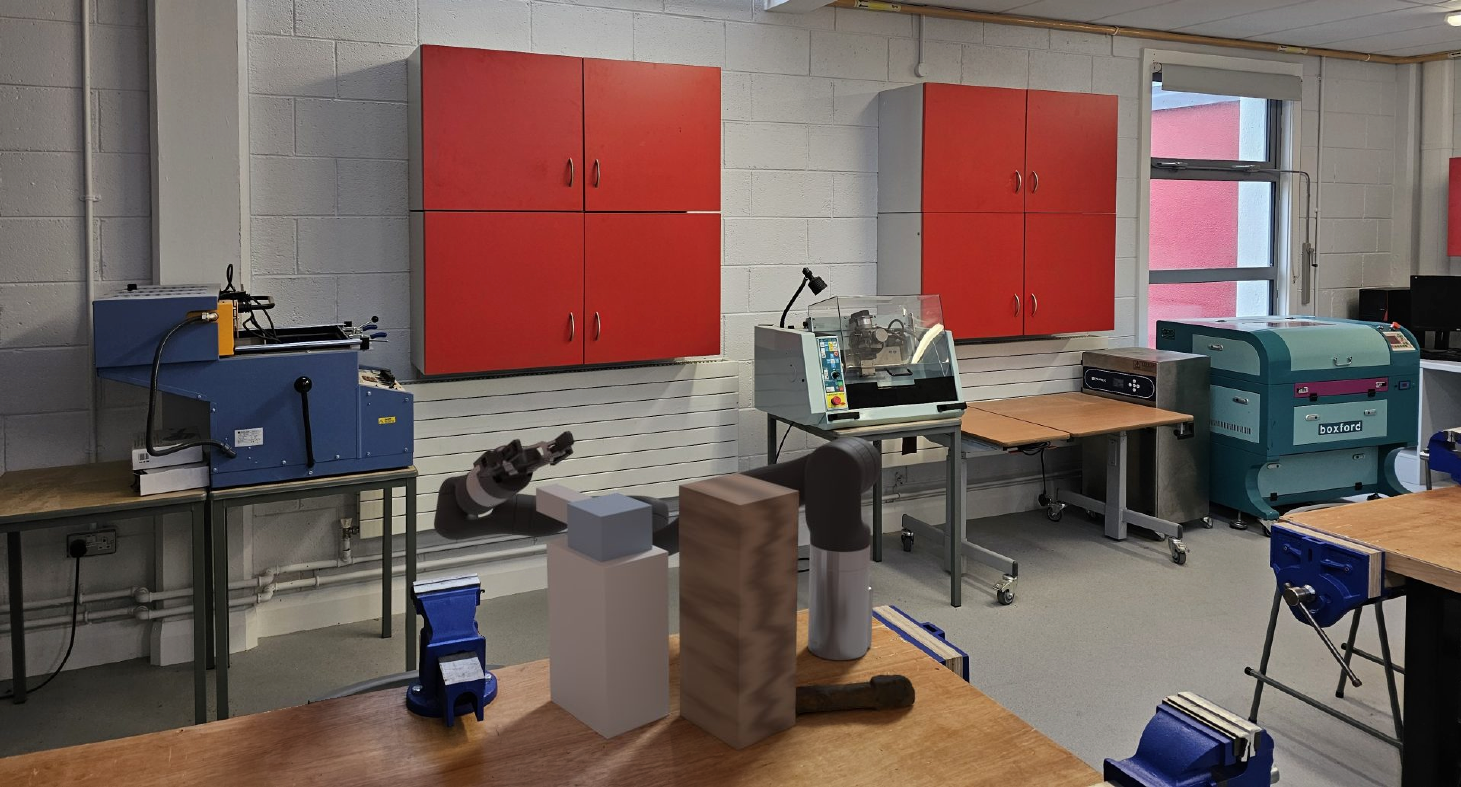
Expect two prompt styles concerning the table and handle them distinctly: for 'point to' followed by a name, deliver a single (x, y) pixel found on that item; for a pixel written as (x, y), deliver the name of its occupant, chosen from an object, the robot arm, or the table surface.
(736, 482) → the walnut stand
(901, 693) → the hand tool
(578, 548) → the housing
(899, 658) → the table surface
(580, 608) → the grey pedestal
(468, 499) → the robot arm
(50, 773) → the table surface
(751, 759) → the table surface
